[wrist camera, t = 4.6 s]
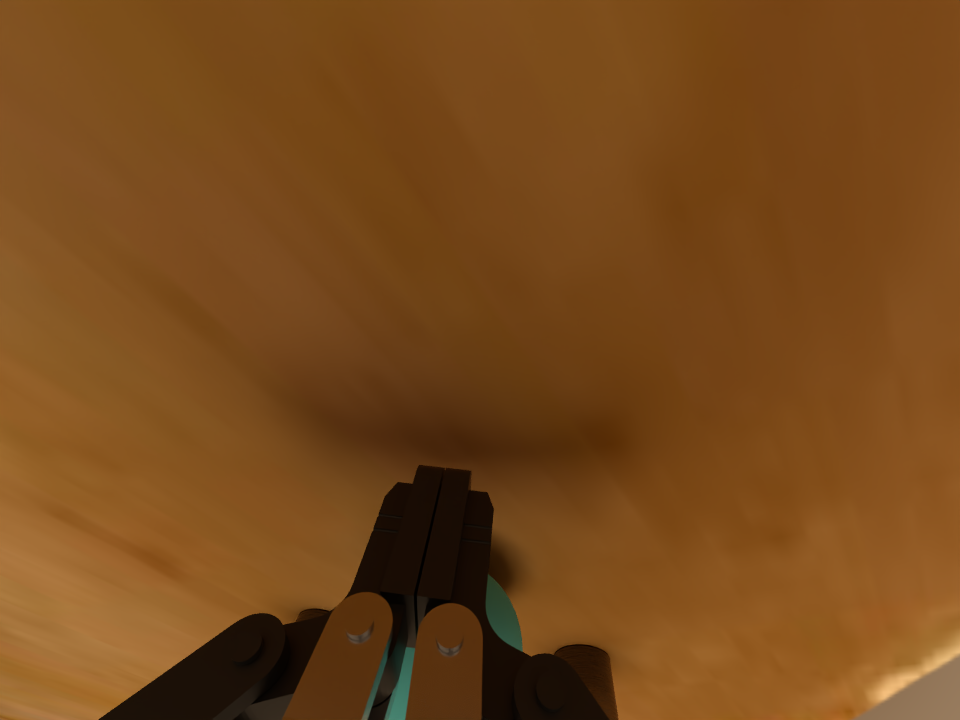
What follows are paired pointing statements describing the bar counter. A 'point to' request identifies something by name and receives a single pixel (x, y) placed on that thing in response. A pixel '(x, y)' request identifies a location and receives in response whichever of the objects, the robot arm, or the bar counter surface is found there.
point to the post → (593, 674)
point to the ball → (499, 619)
